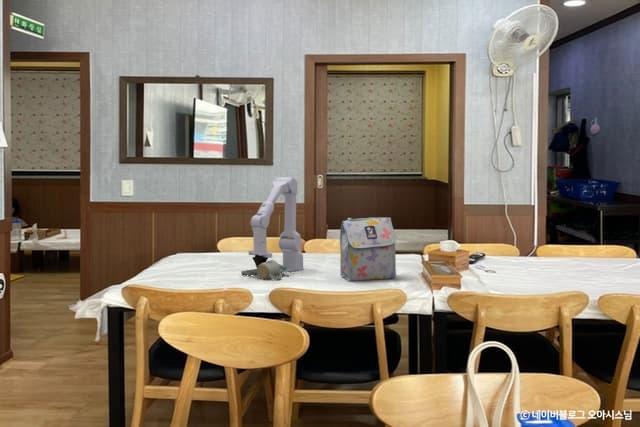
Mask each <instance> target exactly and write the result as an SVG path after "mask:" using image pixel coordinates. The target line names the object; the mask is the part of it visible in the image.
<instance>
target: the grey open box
mask: <svg viewBox="0 0 640 427" xmlns="http://www.w3.org/2000/svg"><path fill="white" fill-rule="evenodd" d="M240 272H241V274H242V275H241V276H244V275H248V276H247V277H252V276H251V275H256V276H258V275H257V268H253V269H245V270H241V271H240Z"/></svg>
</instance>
